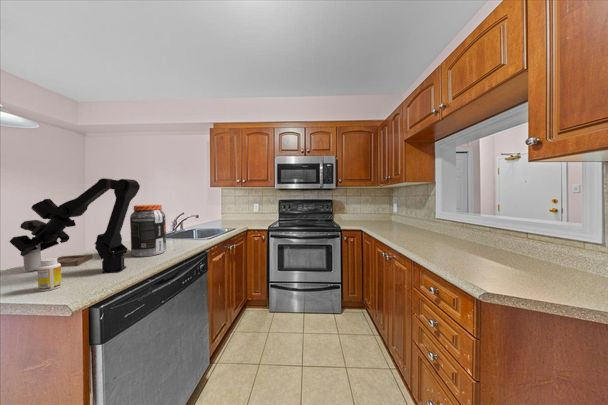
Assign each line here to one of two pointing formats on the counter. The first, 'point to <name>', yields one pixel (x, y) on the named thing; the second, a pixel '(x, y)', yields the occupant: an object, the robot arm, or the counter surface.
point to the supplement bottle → (49, 274)
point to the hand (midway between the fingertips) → (28, 253)
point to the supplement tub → (148, 230)
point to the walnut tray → (73, 260)
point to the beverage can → (32, 260)
